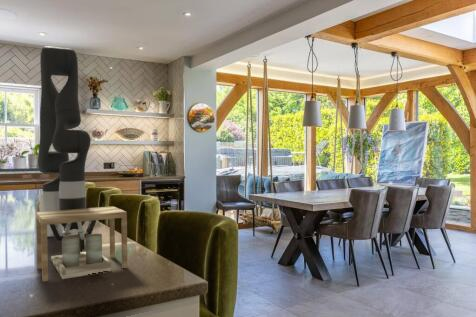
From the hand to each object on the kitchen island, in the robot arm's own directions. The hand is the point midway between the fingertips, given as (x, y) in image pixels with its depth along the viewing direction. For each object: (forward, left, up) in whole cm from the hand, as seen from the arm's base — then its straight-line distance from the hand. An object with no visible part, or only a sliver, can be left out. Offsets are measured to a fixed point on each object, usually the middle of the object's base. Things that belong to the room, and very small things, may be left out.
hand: (73, 252), depth 121 cm
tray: (+8, +5, -2) cm, 10 cm away
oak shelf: (+11, +8, -2) cm, 13 cm away
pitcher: (-56, -37, -2) cm, 67 cm away
